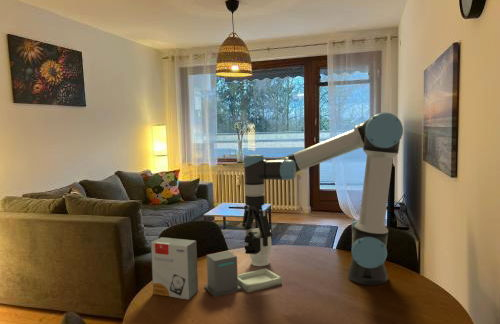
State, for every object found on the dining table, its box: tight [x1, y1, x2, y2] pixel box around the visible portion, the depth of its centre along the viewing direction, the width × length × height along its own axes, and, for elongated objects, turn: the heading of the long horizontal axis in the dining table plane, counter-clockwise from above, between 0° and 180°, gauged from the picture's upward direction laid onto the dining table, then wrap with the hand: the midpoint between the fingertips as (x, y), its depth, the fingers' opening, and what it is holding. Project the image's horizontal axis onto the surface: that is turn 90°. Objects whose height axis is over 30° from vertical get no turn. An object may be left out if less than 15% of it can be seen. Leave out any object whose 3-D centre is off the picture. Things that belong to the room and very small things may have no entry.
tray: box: [237, 267, 283, 293], centre depth 147 cm, size 12×15×2 cm
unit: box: [203, 250, 243, 298], centre depth 142 cm, size 10×11×13 cm
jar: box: [249, 227, 272, 267], centre depth 168 cm, size 11×10×15 cm
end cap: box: [244, 230, 261, 255], centre depth 146 cm, size 10×7×7 cm
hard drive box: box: [150, 237, 199, 301], centre depth 139 cm, size 16×8×20 cm, turn 70°
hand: (256, 249), depth 146 cm, fingers closed on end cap, 12 cm apart
